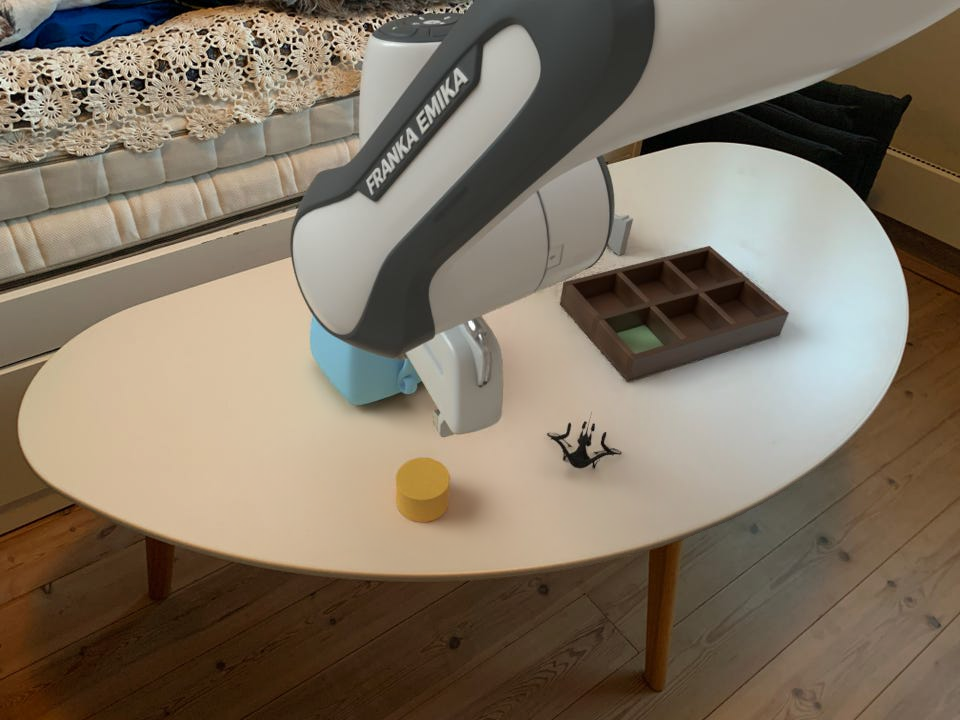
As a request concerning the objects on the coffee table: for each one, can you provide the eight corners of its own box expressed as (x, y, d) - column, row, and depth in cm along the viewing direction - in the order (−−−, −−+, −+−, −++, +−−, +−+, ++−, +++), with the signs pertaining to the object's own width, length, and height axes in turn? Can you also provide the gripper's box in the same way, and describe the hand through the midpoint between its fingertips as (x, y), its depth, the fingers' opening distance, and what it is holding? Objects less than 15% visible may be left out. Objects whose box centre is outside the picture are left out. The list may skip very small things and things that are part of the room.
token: (457, 512, 73) (458, 489, 71) (407, 529, 71) (407, 506, 69) (436, 474, 76) (437, 451, 74) (388, 489, 75) (387, 466, 72)
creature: (550, 428, 84) (534, 470, 77) (559, 385, 81) (543, 425, 74) (622, 447, 82) (613, 491, 75) (633, 404, 79) (625, 447, 73)
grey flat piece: (618, 256, 107) (565, 224, 112) (624, 253, 108) (572, 221, 113) (626, 221, 103) (571, 189, 108) (633, 217, 104) (578, 186, 109)
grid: (780, 335, 96) (789, 313, 94) (627, 382, 88) (633, 359, 86) (702, 267, 106) (709, 245, 104) (559, 304, 98) (563, 281, 96)
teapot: (377, 303, 96) (375, 224, 88) (461, 390, 85) (466, 308, 78) (285, 338, 90) (273, 256, 82) (362, 435, 80) (357, 351, 72)
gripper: (536, 330, 49) (515, 469, 59) (414, 176, 63) (413, 309, 72) (445, 355, 47) (438, 495, 56) (339, 189, 60) (348, 325, 70)
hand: (423, 390), depth 64 cm, fingers open, 8 cm apart
